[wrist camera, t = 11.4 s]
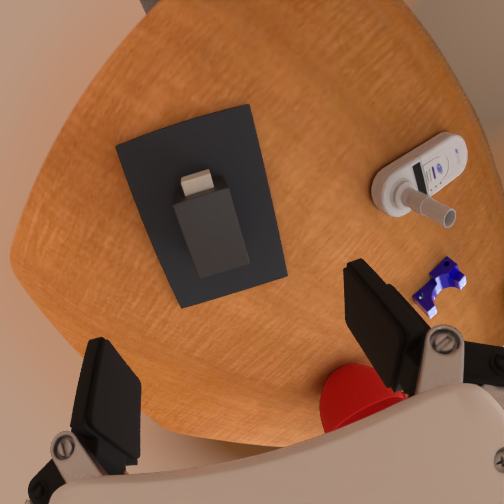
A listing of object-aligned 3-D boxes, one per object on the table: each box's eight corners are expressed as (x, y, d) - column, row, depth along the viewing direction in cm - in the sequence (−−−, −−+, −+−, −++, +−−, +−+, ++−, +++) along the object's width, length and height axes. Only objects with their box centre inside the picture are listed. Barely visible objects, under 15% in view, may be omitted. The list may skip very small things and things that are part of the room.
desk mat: (116, 145, 23) (115, 146, 22) (248, 104, 24) (249, 104, 23) (181, 305, 32) (181, 308, 31) (286, 273, 33) (288, 276, 32)
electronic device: (513, 184, 22) (433, 257, 23) (456, 162, 31) (376, 218, 31) (510, 140, 20) (425, 208, 20) (448, 125, 28) (362, 177, 29)
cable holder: (446, 256, 37) (464, 269, 34) (450, 270, 39) (466, 283, 36) (410, 291, 39) (425, 306, 35) (415, 303, 40) (430, 318, 37)
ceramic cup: (370, 393, 50) (392, 432, 42) (295, 402, 46) (313, 450, 37) (405, 346, 45) (434, 386, 37) (327, 350, 40) (355, 403, 32)
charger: (170, 178, 25) (167, 190, 21) (219, 162, 25) (224, 172, 22) (197, 257, 29) (200, 279, 25) (242, 243, 29) (250, 263, 26)
